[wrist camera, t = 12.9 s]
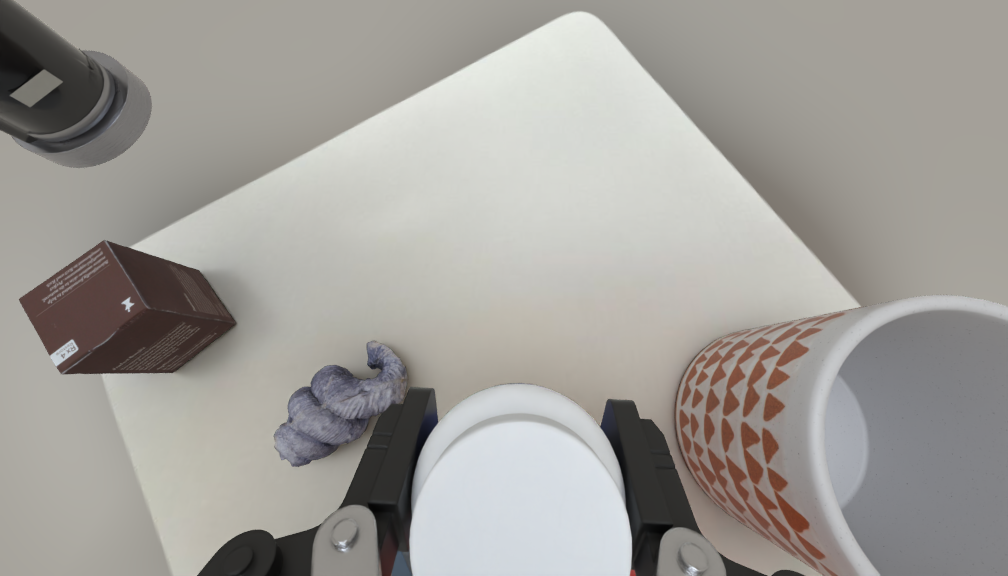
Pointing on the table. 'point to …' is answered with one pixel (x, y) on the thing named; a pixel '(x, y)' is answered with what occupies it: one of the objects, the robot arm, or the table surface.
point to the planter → (861, 436)
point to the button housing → (402, 564)
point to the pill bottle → (518, 491)
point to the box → (124, 313)
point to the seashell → (339, 407)
